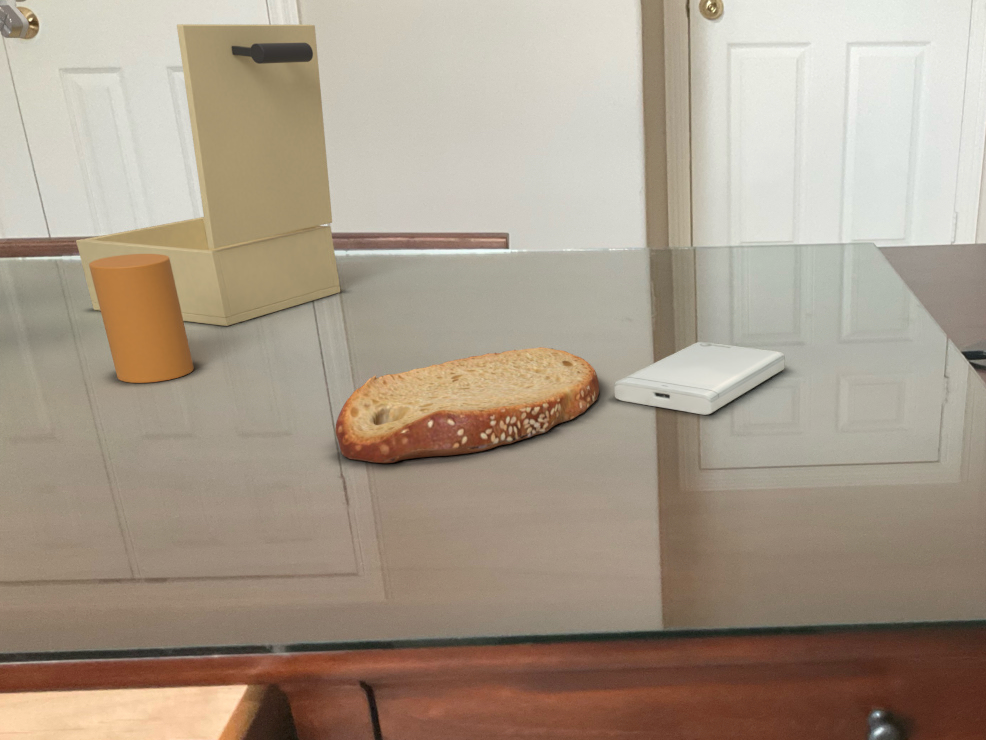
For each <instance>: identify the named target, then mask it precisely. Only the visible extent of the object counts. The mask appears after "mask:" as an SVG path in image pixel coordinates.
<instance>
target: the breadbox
mask: <svg viewBox="0 0 986 740" xmlns="http://www.w3.org/2000/svg"><path fill="white" fill-rule="evenodd" d="M75 243H76V246H77V249H78V255H79V258H80V261H81V265H82V270H83V273H84V277H85V281H86V284H87V285H86V286H87V288H88V289H87V290H88V292H89V296H90V300H91V304H92V308H93V310H94V311H100V307H99V303H98V299H97V295H96V291H95V287H94V283H93V279H92V275H91V271H90V267H89V263H91V262H92V261H95V260H98V259H102V258H107V257H113V256H120V255H131V254H161V255H166V256H168V257H169V258H170V263H171V267H172V272H173V276H174V281H175V285H176V290H177V295H178V299H179V304H180V308H181V313H182V317H183V322H189V323H190V322H191V323H198V324H207V325H213V326H222V327H230V326H232V325H236V324H239V323H242V322H245V321H246V322H247V321H249V320H252V319H255V318H259V317H262V316H266V315H269V314H272V313H276V312H279V311H283V310H285V309H289V308H292V307H295V306H299V305H303V304H306V303H309V302H313V301H317V300H319V299H323V298H325V297H330V296H333V295H336V294H340V293H341V286H340V278H339V272H338V267H337V266H338V265H337V260H336V254H335V247H334V240H333V234H332V228H331V225H319V226H315V227H310V228H305V229H301V230H296V231H292V232H287V233H282V234H278V235H273V236H269V237H264V238H260V239H255V240H250V241H246V242H241V243H237V244H232V245H228V246H223V247H218V248H209V247H208V242H207V235H206V228H205V221H204V216H200V217H195V218H190V219H183V220H179V221H173V222H168V223H161V224H157V225H151V226H147V227H142V228H135V229H130V230H126V231H119V232H114V233H108V234H104V235H103V234H102V235H98V236H93V237H87V238H82V239H77V240H75ZM100 312H101V311H100Z"/></svg>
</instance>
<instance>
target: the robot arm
mask: <svg viewBox="0 0 986 740" xmlns="http://www.w3.org/2000/svg"><path fill="white" fill-rule="evenodd" d="M26 1H27V0H0V35H1V36H2V37H3V38H5V39H24V38H25V37H26V35H27V33H28V31H29V27H30V23H29V21H28V19H27V18H26V16H25V15H24V14H23V13H22V12H21V10H20V9H19V8H18V7H17V3H23V2H26Z"/></svg>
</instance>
